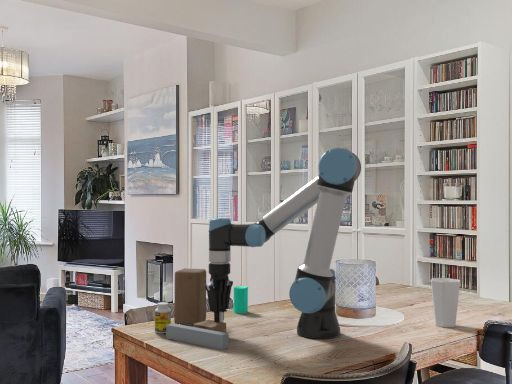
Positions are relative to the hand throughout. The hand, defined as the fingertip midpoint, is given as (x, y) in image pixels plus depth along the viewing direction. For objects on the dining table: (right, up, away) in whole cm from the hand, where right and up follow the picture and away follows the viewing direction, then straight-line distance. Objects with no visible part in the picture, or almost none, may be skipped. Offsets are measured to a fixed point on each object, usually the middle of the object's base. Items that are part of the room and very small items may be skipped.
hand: (219, 330), depth 188 cm
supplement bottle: (-20, -2, +4) cm, 21 cm away
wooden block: (-12, -2, +19) cm, 23 cm away
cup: (+84, -2, +16) cm, 86 cm away
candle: (+6, -2, +39) cm, 40 cm away
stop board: (-7, -1, -10) cm, 12 cm away
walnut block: (-3, -2, -4) cm, 5 cm away
